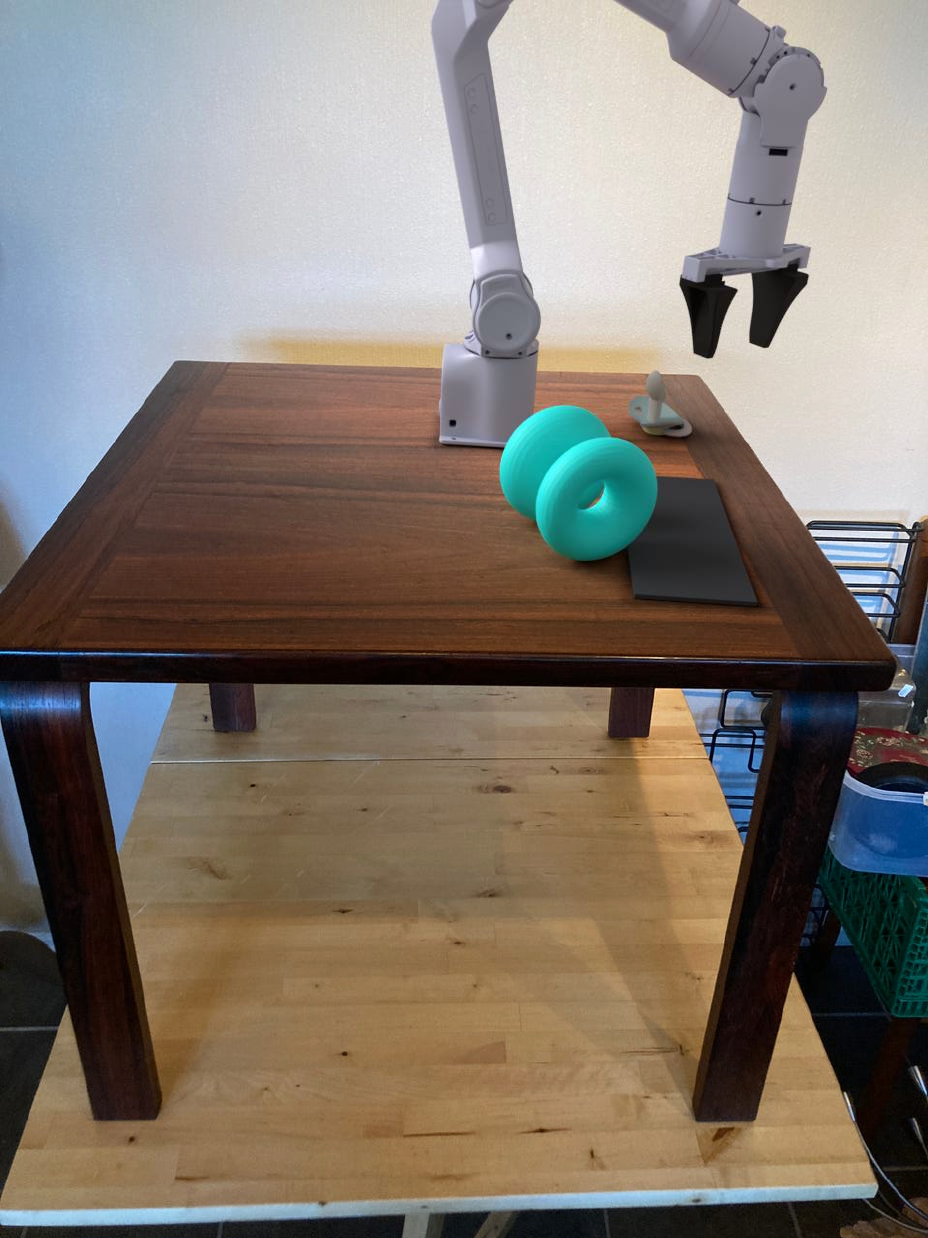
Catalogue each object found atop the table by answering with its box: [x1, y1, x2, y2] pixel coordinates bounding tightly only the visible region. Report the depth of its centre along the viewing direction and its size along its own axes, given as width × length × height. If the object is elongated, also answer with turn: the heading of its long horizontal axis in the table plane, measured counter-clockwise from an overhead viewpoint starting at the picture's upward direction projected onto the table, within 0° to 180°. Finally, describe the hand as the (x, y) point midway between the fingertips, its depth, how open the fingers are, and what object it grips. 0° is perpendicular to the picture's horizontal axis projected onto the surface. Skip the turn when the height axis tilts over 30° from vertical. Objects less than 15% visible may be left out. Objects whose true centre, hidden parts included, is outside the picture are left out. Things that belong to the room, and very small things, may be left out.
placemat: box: [625, 475, 758, 607], centre depth 81 cm, size 9×22×1 cm, turn 176°
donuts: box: [499, 404, 657, 562], centre depth 77 cm, size 10×10×10 cm
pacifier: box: [628, 369, 693, 438], centre depth 100 cm, size 7×6×6 cm
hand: (731, 350), depth 95 cm, fingers open, 7 cm apart
